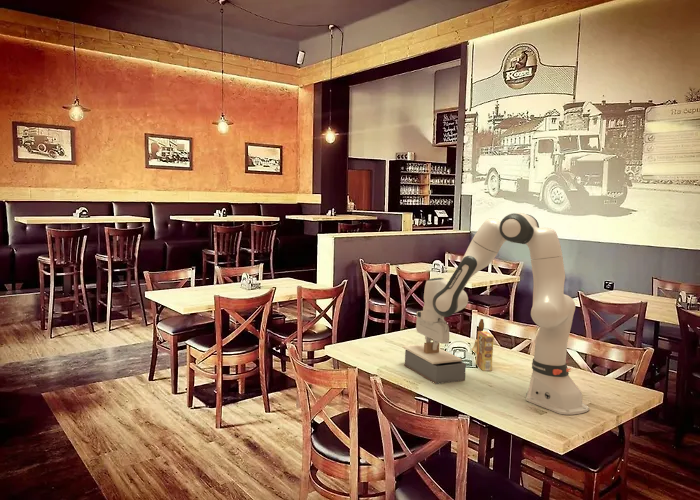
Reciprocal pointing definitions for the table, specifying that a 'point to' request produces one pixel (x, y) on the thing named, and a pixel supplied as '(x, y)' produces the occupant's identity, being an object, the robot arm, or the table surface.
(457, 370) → the storage box
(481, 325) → the hand bell
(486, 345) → the candy box
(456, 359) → the lid
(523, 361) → the table surface
